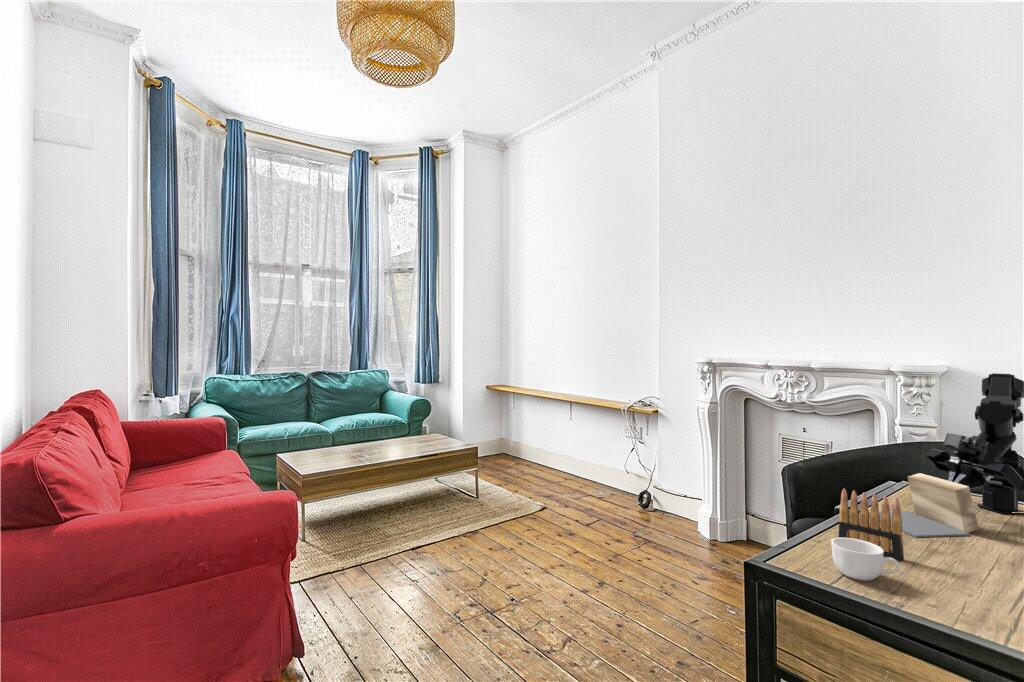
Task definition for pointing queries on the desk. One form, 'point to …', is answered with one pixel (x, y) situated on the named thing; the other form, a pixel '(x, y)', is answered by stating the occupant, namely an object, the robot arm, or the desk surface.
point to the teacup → (859, 558)
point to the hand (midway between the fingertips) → (948, 493)
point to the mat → (925, 526)
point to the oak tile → (943, 502)
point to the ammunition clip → (872, 524)
